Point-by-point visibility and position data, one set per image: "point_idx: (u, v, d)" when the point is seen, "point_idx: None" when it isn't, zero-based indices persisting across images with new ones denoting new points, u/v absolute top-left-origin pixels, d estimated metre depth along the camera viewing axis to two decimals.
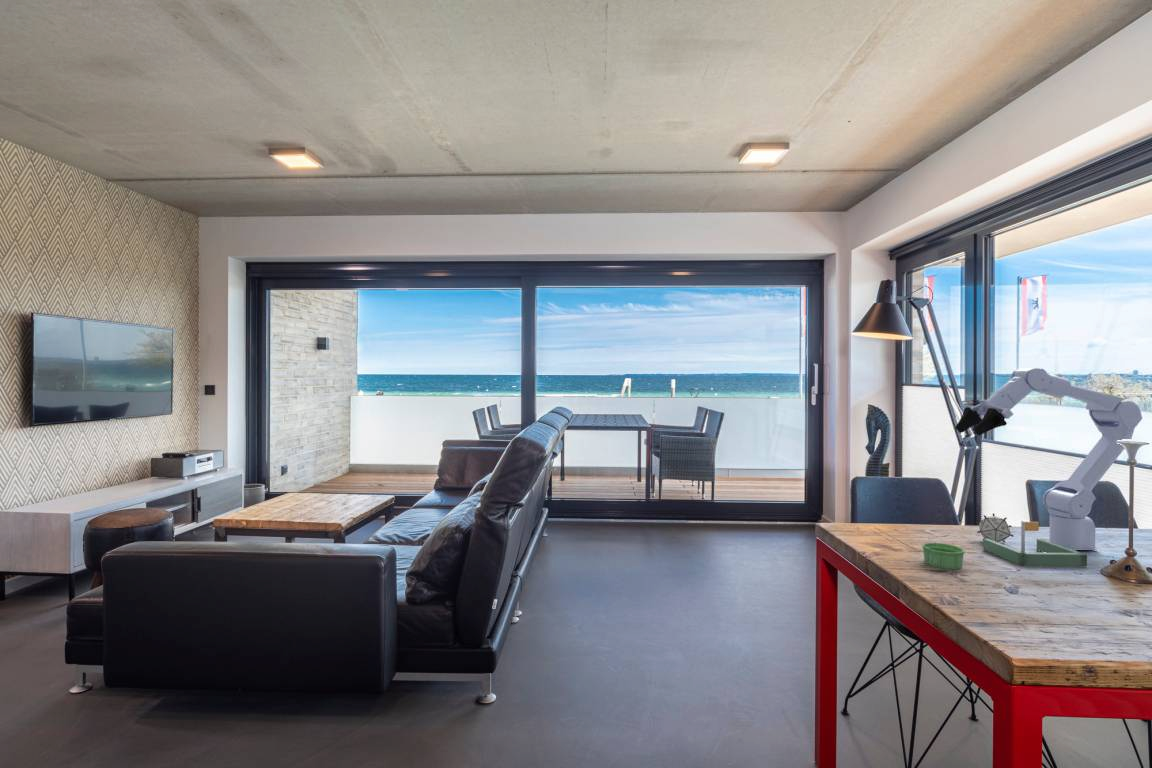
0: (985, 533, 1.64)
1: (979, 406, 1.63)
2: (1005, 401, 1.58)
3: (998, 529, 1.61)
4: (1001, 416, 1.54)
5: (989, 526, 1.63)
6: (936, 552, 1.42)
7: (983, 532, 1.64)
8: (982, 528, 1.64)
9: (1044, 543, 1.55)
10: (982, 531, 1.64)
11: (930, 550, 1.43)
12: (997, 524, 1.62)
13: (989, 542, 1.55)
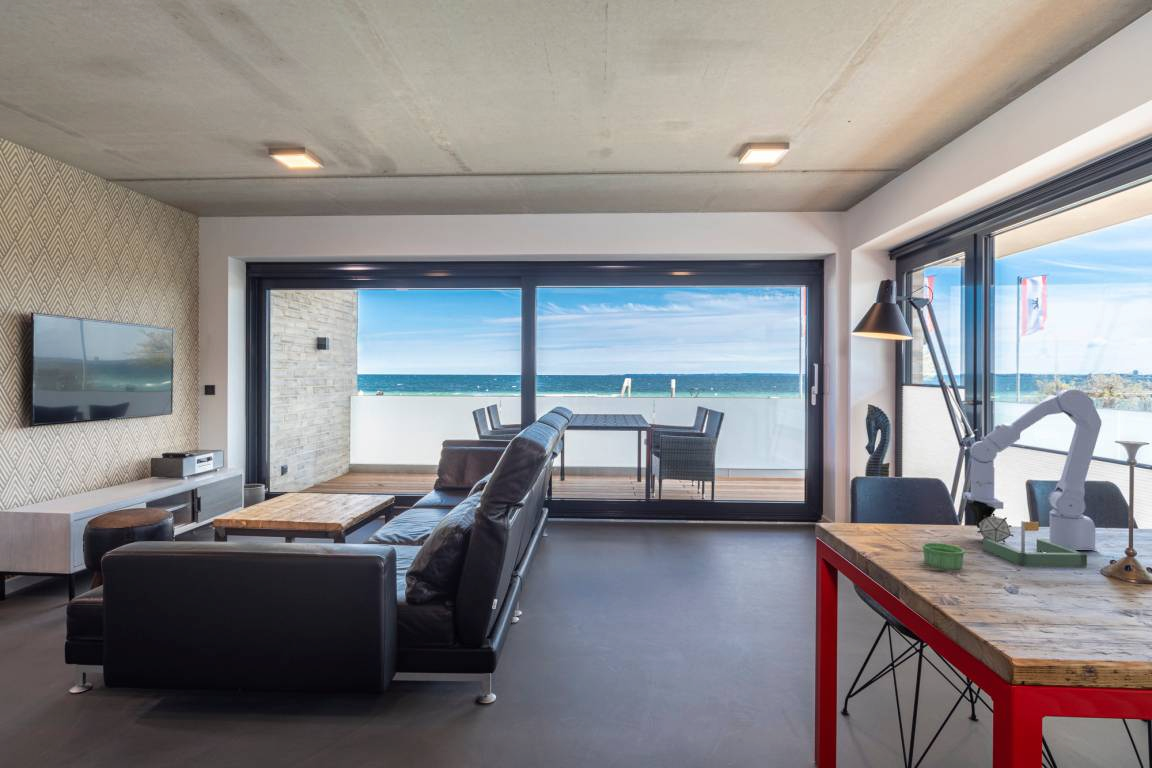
0: (985, 533, 1.64)
1: None
2: (986, 489, 1.67)
3: (998, 529, 1.61)
4: (988, 506, 1.67)
5: (989, 526, 1.63)
6: (936, 552, 1.42)
7: (983, 532, 1.64)
8: (982, 528, 1.64)
9: (1044, 543, 1.55)
10: (982, 531, 1.64)
11: (930, 550, 1.43)
12: (997, 524, 1.62)
13: (989, 542, 1.55)
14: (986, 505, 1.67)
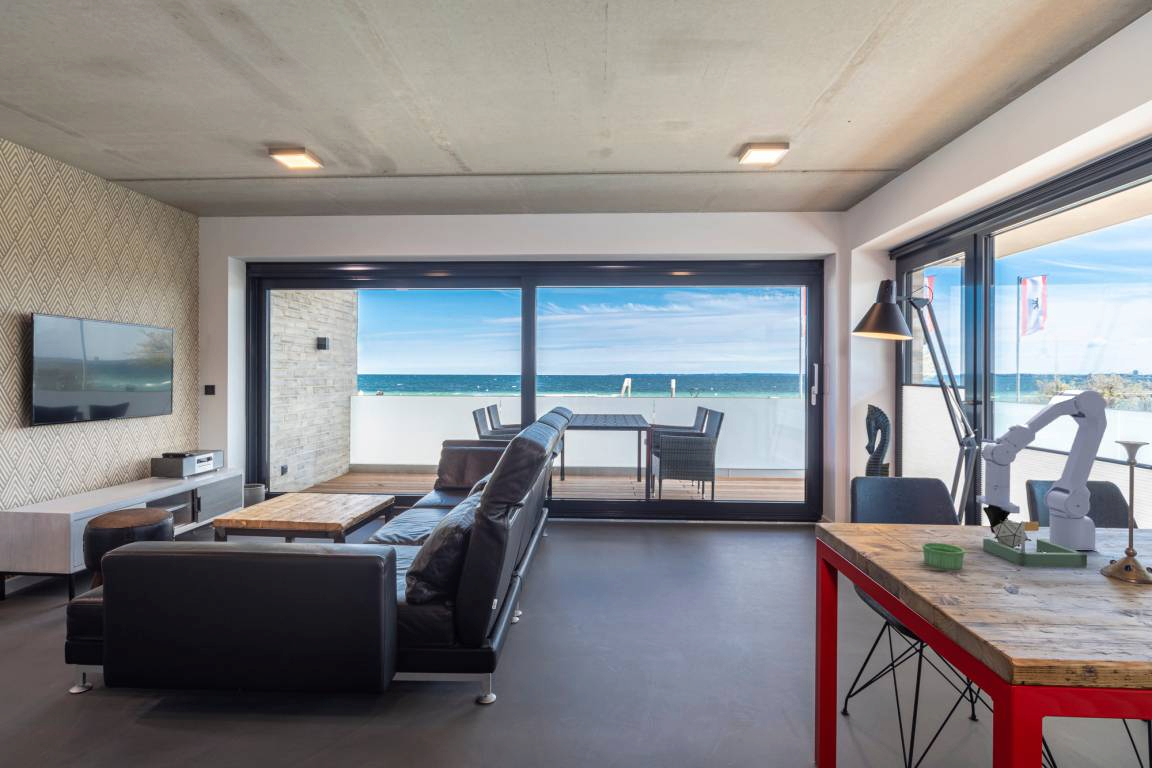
0: (1002, 539, 1.58)
1: None
2: (1002, 492, 1.60)
3: (1016, 534, 1.55)
4: (1002, 510, 1.61)
5: (1007, 532, 1.57)
6: (936, 552, 1.42)
7: (1000, 538, 1.58)
8: (999, 534, 1.58)
9: (1044, 543, 1.55)
10: (999, 537, 1.58)
11: (930, 550, 1.43)
12: (1015, 529, 1.56)
13: (989, 542, 1.55)
14: (1001, 509, 1.61)
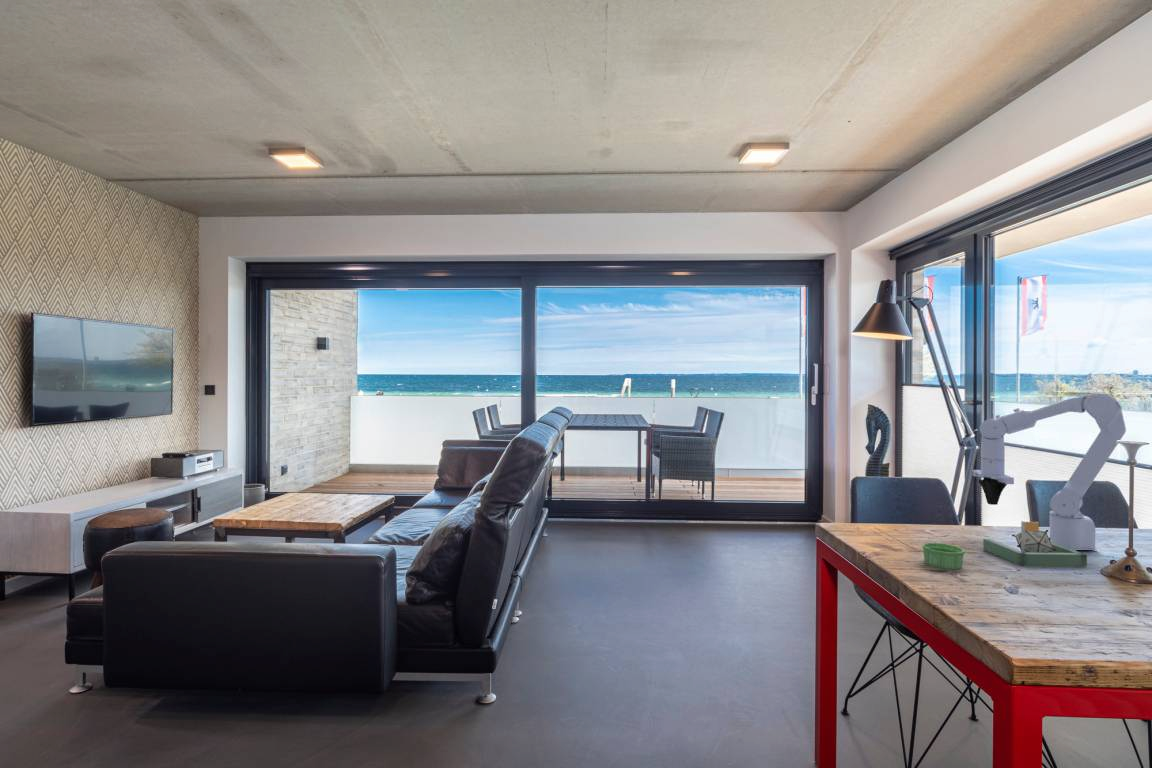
0: (1026, 547, 1.49)
1: None
2: (997, 465, 1.70)
3: (1041, 543, 1.47)
4: (998, 482, 1.70)
5: (1030, 540, 1.49)
6: (936, 552, 1.42)
7: None
8: None
9: None
10: None
11: (930, 550, 1.43)
12: (1039, 537, 1.48)
13: (989, 542, 1.55)
14: (996, 481, 1.70)
